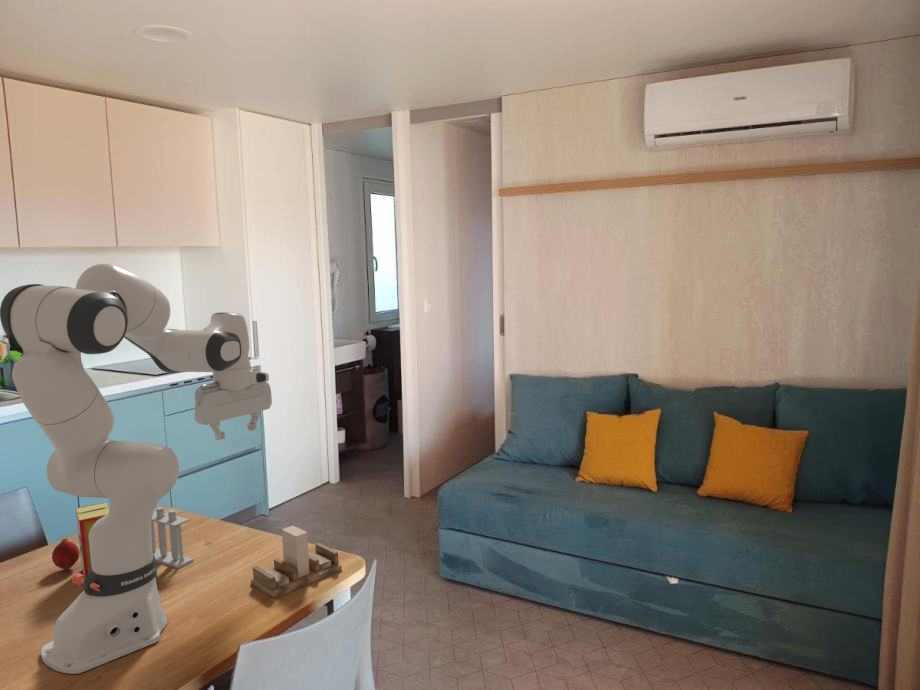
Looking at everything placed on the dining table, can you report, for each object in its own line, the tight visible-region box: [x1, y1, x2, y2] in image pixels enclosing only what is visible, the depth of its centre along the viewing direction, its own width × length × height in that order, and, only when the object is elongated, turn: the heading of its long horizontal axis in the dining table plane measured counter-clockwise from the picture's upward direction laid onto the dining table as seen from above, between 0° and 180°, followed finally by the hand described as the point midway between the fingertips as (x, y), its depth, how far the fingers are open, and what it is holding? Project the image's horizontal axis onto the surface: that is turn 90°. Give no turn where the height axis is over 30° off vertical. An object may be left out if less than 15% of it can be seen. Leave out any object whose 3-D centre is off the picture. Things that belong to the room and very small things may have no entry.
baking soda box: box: [75, 502, 110, 577], centre depth 164 cm, size 10×6×16 cm
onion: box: [51, 536, 81, 570], centre depth 167 cm, size 6×6×8 cm
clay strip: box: [281, 525, 310, 578], centre depth 160 cm, size 3×6×10 cm, turn 45°
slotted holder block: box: [250, 542, 343, 599], centre depth 161 cm, size 18×10×4 cm, turn 136°
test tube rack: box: [151, 506, 194, 569], centre depth 174 cm, size 25×4×13 cm, turn 60°
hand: (236, 434), depth 169 cm, fingers open, 8 cm apart
